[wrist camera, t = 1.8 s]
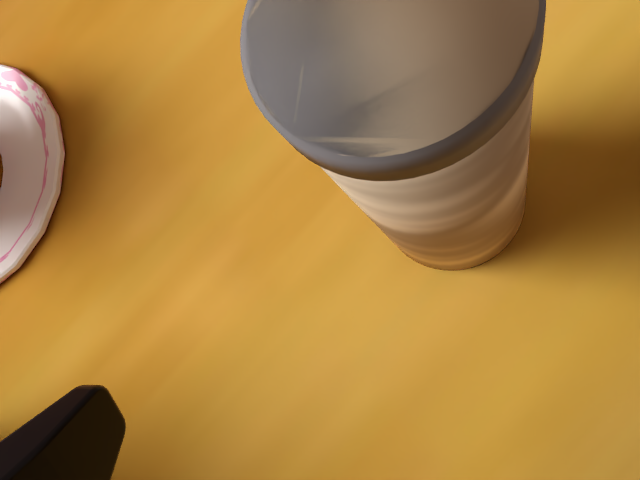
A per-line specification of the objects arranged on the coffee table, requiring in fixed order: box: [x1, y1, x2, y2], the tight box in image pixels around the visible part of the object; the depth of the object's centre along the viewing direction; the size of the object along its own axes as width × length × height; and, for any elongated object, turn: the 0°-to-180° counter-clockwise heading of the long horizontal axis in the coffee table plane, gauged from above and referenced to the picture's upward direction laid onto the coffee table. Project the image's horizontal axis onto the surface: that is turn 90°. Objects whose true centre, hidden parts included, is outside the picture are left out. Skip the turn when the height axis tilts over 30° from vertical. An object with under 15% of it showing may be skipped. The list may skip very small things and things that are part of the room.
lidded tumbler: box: [240, 0, 546, 270], centre depth 16 cm, size 5×5×12 cm
